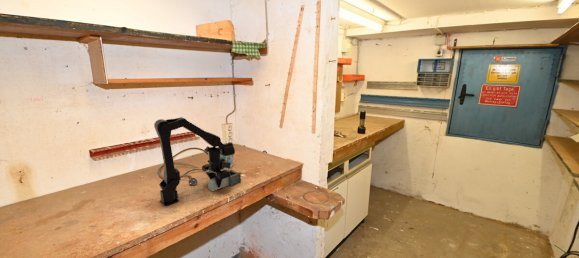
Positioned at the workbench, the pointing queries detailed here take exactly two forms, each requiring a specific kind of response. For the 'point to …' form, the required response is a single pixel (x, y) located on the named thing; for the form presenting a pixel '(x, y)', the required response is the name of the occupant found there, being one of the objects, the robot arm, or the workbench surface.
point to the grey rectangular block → (213, 185)
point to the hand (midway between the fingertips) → (216, 185)
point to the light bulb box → (229, 159)
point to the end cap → (234, 178)
